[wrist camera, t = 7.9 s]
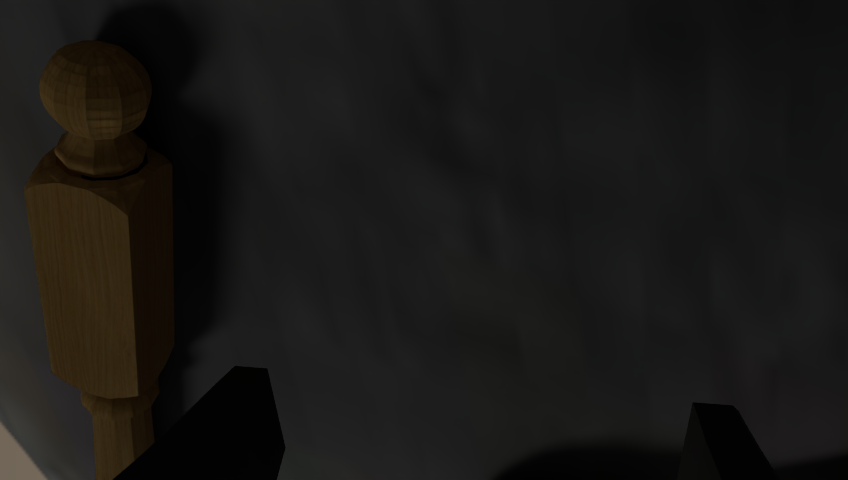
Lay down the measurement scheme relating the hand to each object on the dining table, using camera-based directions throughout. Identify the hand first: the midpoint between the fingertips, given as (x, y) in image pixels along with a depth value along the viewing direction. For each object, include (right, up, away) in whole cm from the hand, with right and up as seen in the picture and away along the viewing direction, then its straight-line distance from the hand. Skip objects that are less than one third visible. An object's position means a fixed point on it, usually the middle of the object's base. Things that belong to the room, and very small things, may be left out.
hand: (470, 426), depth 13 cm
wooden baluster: (-12, -3, +17) cm, 21 cm away
